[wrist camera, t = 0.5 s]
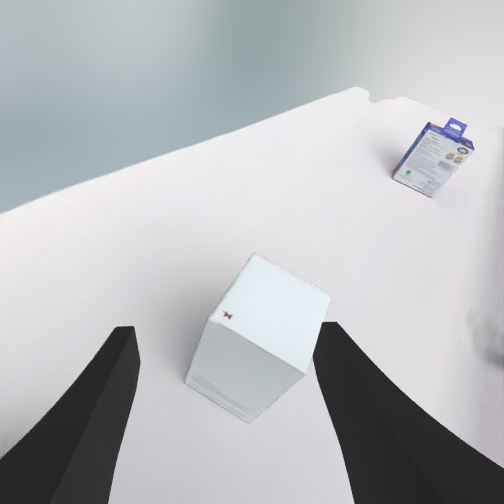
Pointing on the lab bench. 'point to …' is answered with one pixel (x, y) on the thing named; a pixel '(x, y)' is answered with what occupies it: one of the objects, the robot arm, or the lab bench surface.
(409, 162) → the ink cartridge box
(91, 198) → the lab bench surface
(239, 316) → the supplement box
